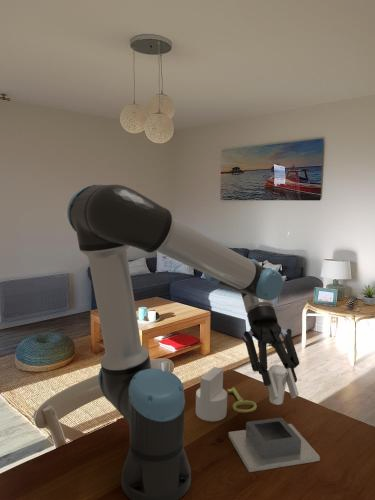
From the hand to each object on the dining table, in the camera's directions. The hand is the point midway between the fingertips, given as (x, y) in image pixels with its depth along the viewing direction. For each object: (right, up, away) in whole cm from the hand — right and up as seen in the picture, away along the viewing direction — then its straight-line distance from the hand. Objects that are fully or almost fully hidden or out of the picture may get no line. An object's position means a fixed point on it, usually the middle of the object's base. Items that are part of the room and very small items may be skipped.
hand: (285, 397), depth 95 cm
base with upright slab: (-16, -12, +21) cm, 29 cm away
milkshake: (-1, -3, +4) cm, 5 cm away
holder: (-2, -14, +5) cm, 15 cm away
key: (-7, -12, +27) cm, 30 cm away
